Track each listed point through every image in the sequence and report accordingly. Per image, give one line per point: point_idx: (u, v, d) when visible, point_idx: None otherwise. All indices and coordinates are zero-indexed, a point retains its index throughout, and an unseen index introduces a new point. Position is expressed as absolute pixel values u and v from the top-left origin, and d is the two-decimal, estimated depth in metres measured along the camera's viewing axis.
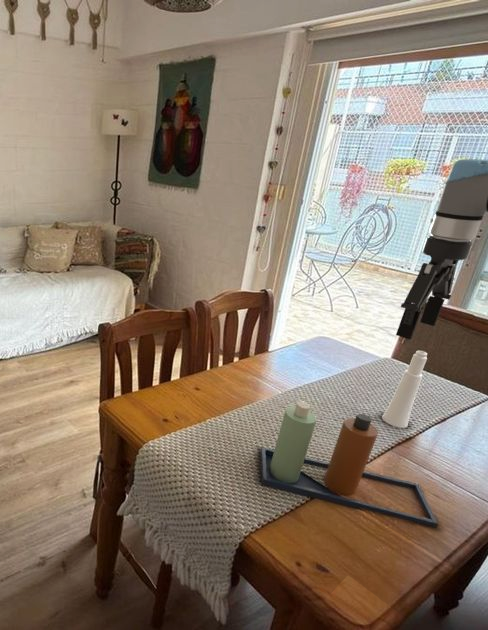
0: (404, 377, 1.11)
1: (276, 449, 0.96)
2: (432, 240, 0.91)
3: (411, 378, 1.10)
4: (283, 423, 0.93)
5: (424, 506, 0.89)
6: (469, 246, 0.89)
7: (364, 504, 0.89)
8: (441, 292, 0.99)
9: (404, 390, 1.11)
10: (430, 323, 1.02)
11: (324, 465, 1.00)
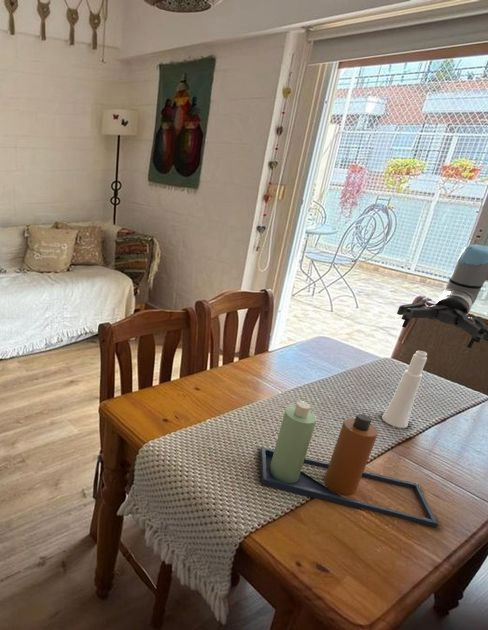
0: (404, 377, 1.11)
1: (276, 449, 0.96)
2: None
3: (411, 378, 1.10)
4: (283, 423, 0.93)
5: (424, 506, 0.89)
6: (454, 296, 1.22)
7: (364, 504, 0.89)
8: (473, 328, 1.12)
9: (404, 390, 1.11)
10: (470, 339, 1.07)
11: (324, 465, 1.00)
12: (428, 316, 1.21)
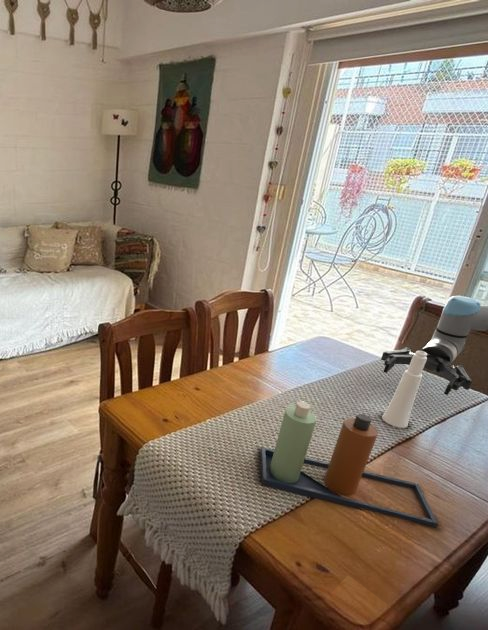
0: (404, 377, 1.11)
1: (276, 449, 0.96)
2: None
3: (411, 378, 1.10)
4: (283, 423, 0.93)
5: (424, 506, 0.89)
6: (438, 344, 1.27)
7: (364, 504, 0.89)
8: (452, 376, 1.17)
9: (404, 390, 1.11)
10: (447, 386, 1.12)
11: (324, 465, 1.00)
12: None
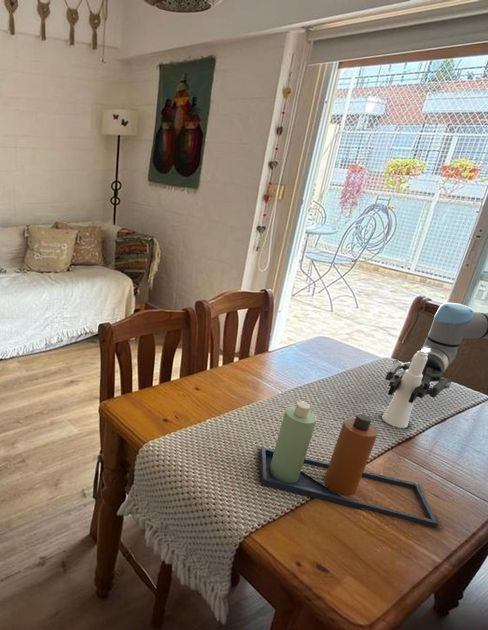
0: (404, 377, 1.11)
1: (276, 449, 0.96)
2: None
3: (411, 378, 1.10)
4: (283, 423, 0.93)
5: (424, 506, 0.89)
6: (428, 353, 1.21)
7: (364, 504, 0.89)
8: (422, 384, 1.13)
9: (404, 390, 1.11)
10: None
11: (324, 465, 1.00)
12: None
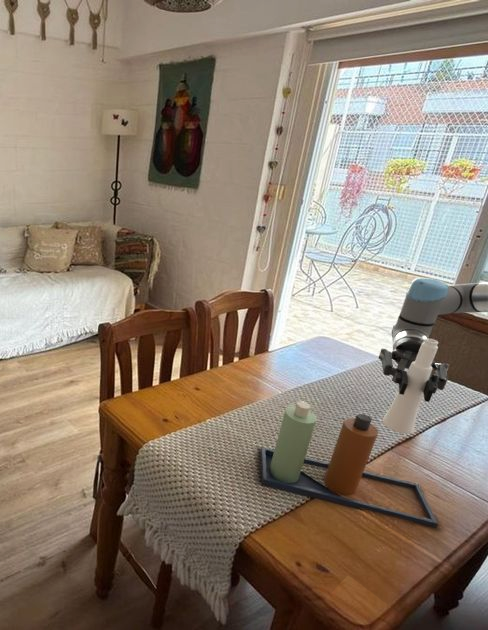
0: (413, 371, 0.94)
1: (276, 449, 0.96)
2: None
3: (422, 372, 0.93)
4: (283, 423, 0.93)
5: (424, 506, 0.89)
6: (413, 337, 1.08)
7: (364, 504, 0.89)
8: None
9: (414, 386, 0.95)
10: (427, 391, 0.91)
11: (324, 465, 1.00)
12: (404, 368, 1.03)
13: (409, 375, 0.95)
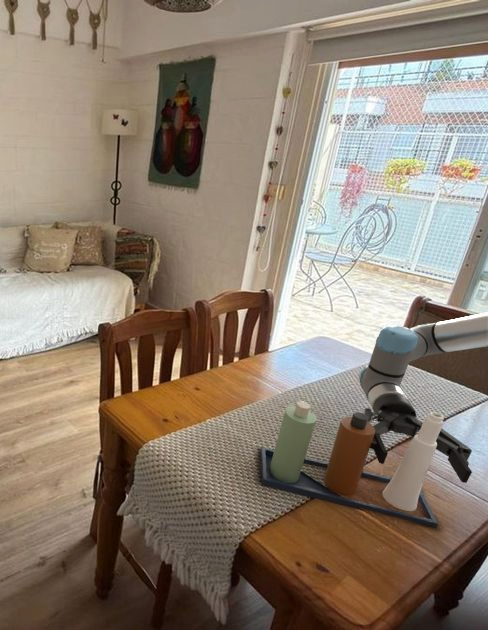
0: (418, 448, 0.85)
1: (276, 449, 0.96)
2: None
3: (428, 449, 0.84)
4: (283, 423, 0.93)
5: (424, 506, 0.89)
6: (394, 395, 1.00)
7: (364, 504, 0.89)
8: (445, 446, 0.89)
9: (420, 464, 0.85)
10: (464, 472, 0.82)
11: (324, 465, 1.00)
12: (385, 431, 0.95)
13: (413, 452, 0.86)
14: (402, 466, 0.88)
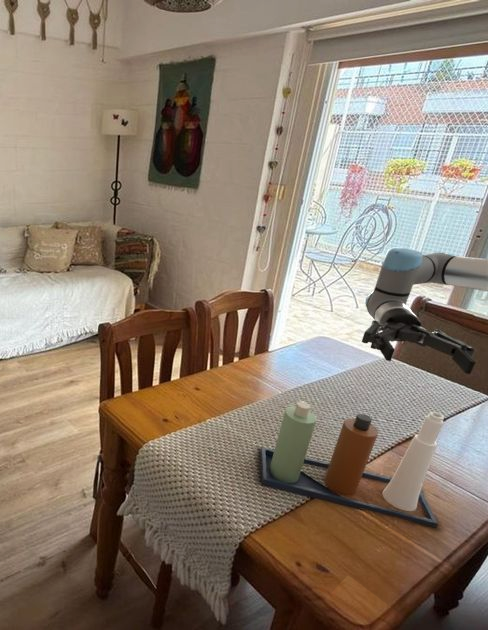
0: (418, 448, 0.85)
1: (276, 449, 0.96)
2: None
3: (428, 449, 0.84)
4: (283, 423, 0.93)
5: (424, 506, 0.89)
6: (400, 309, 1.05)
7: (364, 504, 0.89)
8: (450, 347, 0.94)
9: (420, 464, 0.85)
10: (468, 363, 0.87)
11: (324, 465, 1.00)
12: (391, 338, 1.00)
13: (413, 452, 0.86)
14: (402, 466, 0.88)
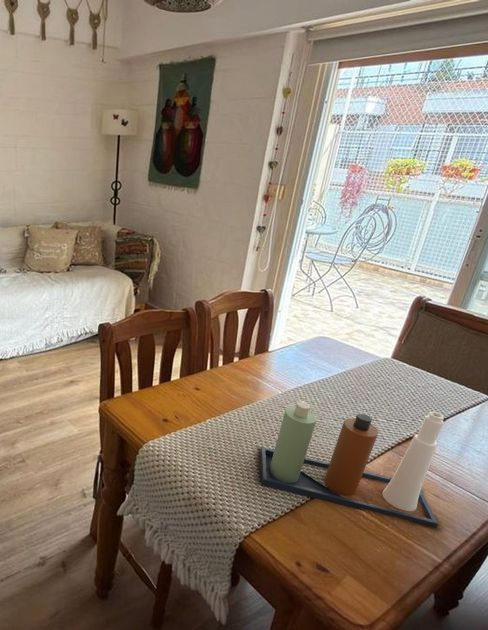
0: (418, 448, 0.85)
1: (276, 449, 0.96)
2: None
3: (428, 449, 0.84)
4: (283, 423, 0.93)
5: (424, 506, 0.89)
6: None
7: (364, 504, 0.89)
8: None
9: (420, 464, 0.85)
10: None
11: (324, 465, 1.00)
12: None
13: (413, 452, 0.86)
14: (402, 466, 0.88)
